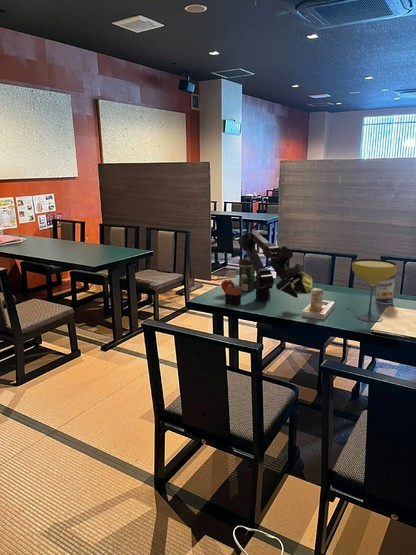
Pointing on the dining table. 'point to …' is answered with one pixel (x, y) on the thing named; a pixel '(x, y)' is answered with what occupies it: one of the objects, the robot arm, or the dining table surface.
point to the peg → (316, 299)
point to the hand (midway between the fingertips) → (301, 295)
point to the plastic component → (306, 282)
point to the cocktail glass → (373, 278)
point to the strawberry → (226, 284)
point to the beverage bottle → (385, 290)
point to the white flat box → (326, 309)
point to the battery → (233, 295)
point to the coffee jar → (246, 274)
